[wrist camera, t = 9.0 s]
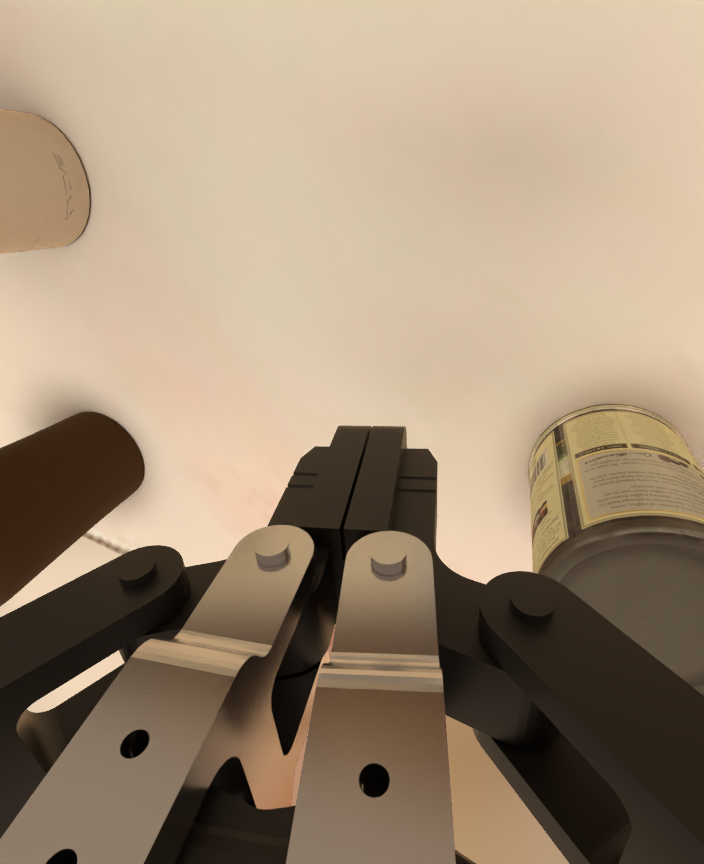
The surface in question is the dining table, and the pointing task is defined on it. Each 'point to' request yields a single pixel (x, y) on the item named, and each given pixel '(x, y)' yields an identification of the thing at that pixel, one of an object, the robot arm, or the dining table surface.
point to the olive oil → (60, 491)
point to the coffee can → (625, 527)
